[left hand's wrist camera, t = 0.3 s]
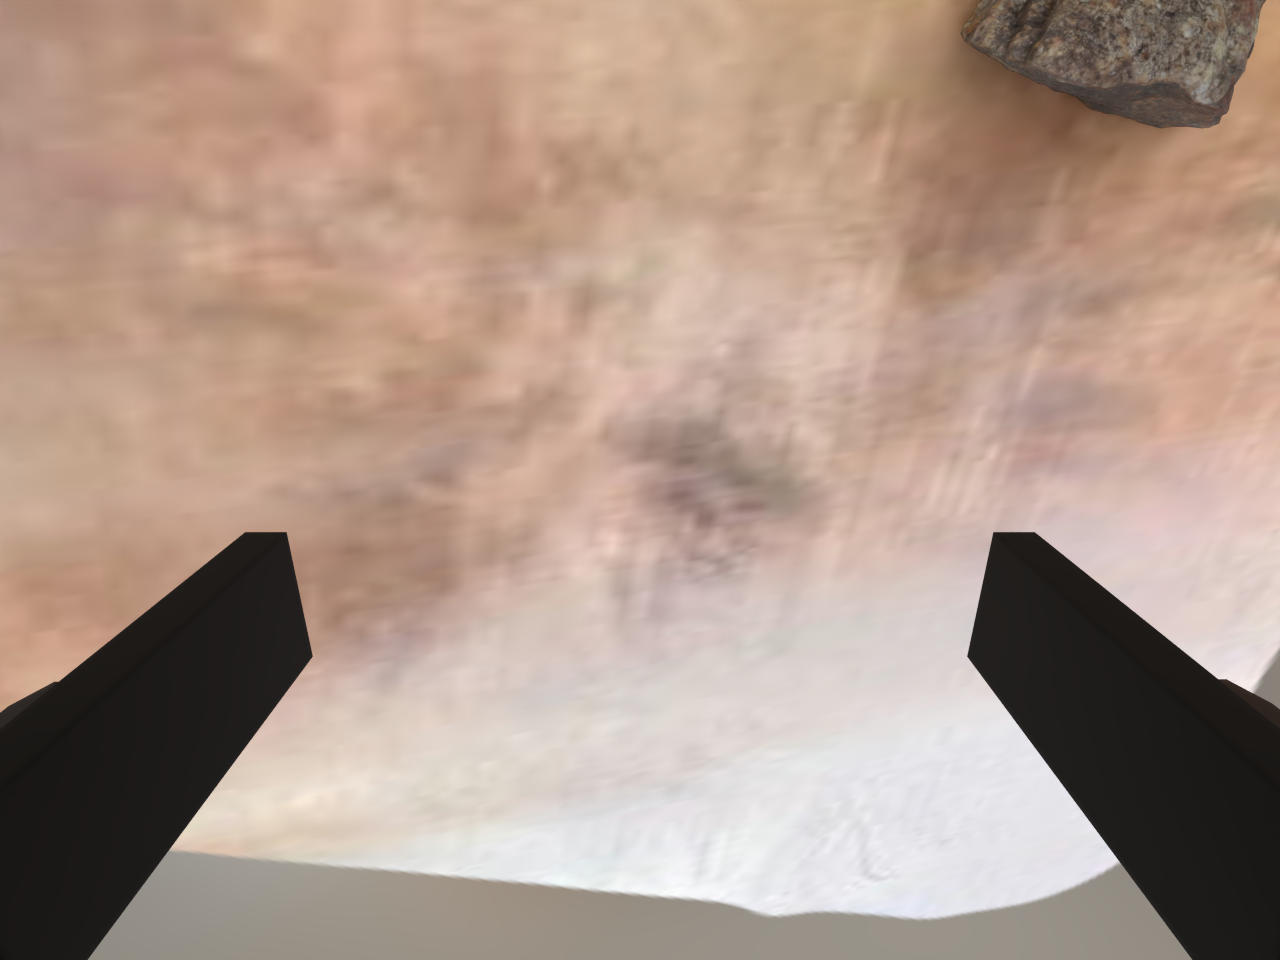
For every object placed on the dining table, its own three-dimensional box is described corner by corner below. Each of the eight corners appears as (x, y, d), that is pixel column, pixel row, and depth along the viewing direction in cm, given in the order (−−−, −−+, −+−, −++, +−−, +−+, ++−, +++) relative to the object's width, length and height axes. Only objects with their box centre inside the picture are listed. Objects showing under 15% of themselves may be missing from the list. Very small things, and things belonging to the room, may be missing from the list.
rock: (1150, 186, 37) (1270, -23, 33) (1305, 184, 29) (1484, -90, 25) (920, 82, 34) (1024, -158, 30) (1022, 48, 26) (1179, -282, 22)
